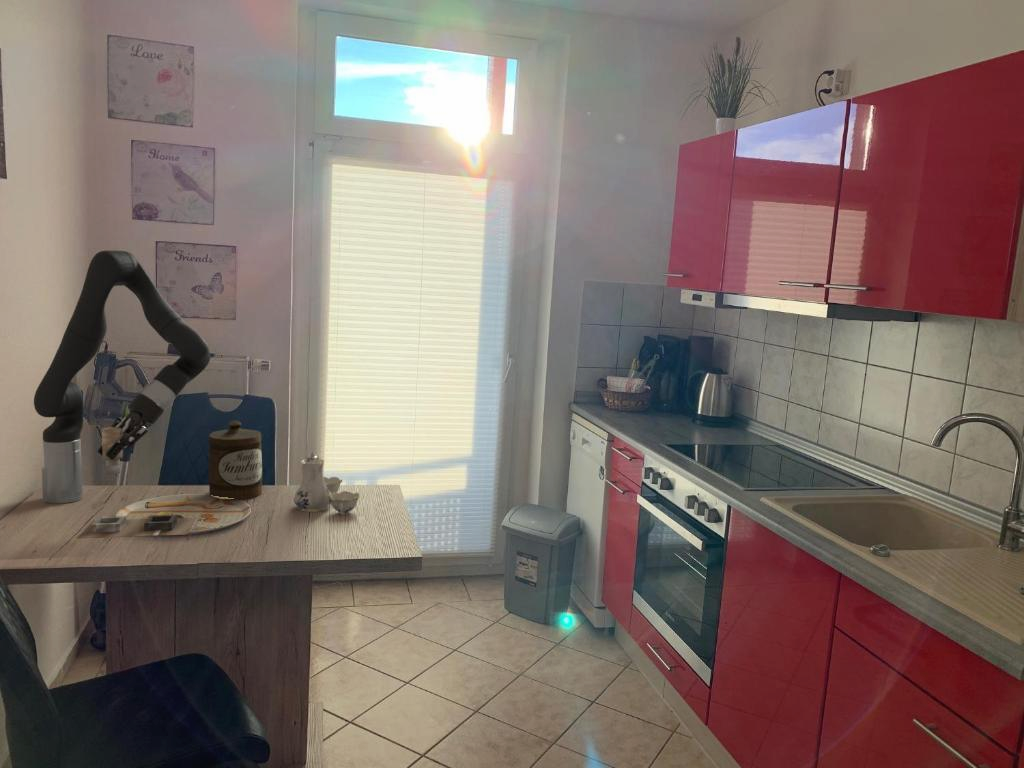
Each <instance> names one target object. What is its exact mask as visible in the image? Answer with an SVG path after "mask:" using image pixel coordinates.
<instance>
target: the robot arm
mask: <svg viewBox="0 0 1024 768" xmlns="http://www.w3.org/2000/svg"><path fill="white" fill-rule="evenodd" d="M117 286H118V287H120V286H124V287H126V288H127V289H128V290H129V291H130V292H131V293H133V294H134V295H135V296H136V297H137V299H138V301H139V302H140V304H141V307H142V311H143V314H144V317H145V318H146V321H147V322H148V324H149V325H150V327H152V329H153V330H154V331H156V333H157V334H158V335H159V336H160V337H161V338H162V339H163V341H165V342H166V343H168V344H170V345H172V346H173V348H174V349H176V351H177V352H178V353H179V355H180V356H179V358H178V359H177V360H175V362H173V364H167V365H165V366H164V367H163V368H161V370H160V371H159V372H158V373H157V375H155V376H154V378H153V379H152V380H151V381H149V382H148V383H147V384H146V385H145V386H144V387H143V388H142V389H141V390H140V392H139V393H138V394H137V395H136V396H135V397H134V398H133V399H132V400H131V401H130V403H129V404H128V405H127V409H128V410H129V413H127V415H125V416H124V417H123V418H122V417H120V416H118V417H116V419H115V420H114V421H113V423H112V425H111V426H110V427H109V428H111V427H118V428H122V431H121V432H120V437H119V438H118V440H117V443H114V445H113V446H112V447H111V448H110V449H109V450H108V451H107V452H106V454H105V455H106V456H107V457H108V458H110V459H112V460H113V459H114V458H115V457H116V456H117V455H118V454H119V453H120V452H121V450H124V449H126V448H127V447H128V448H131V447H133V446H134V445H135V444H136V443H137V442H138V441H139V440H140V439H141V438H142V437H143V436H144V435H146V434H147V433H148V432H149V429H147V427H145V426H146V425H147V424H148V425H150V426H151V425H152V426H153V425H154V424H155V423H156V422H157V421H158V419H159V418H160V417H161V416H162V415H163V414H164V413H165V411H166V410H167V409H168V408H169V407H170V406H171V404H172V403H173V402H174V400H175V399H176V398H177V397H178V395H179V394H180V393H181V392H182V390H184V388H185V387H186V385H187V384H188V383H190V382H191V381H193V380H194V379H195V378H196V377H197V376H199V375H200V374H201V373H202V372H203V371H204V370H205V369H206V368H207V367H208V365H209V363H210V360H211V353H210V349H209V345H208V343H207V342H206V341H205V339H204V337H202V336H201V335H200V334H199V333H198V332H197V331H196V330H195V329H193V328H192V327H191V326H190V325H188V324H187V323H186V322H185V320H184V319H183V318H182V317H181V316H180V314H179V313H178V312H176V311H175V310H174V308H173V307H172V306H171V304H169V303H168V302H167V300H166V299H165V298H164V297H163V295H162V294H161V292H160V291H159V289H158V288H157V286H156V285H155V284H154V282H153V281H152V279H151V278H150V276H149V275H148V273H147V271H146V270H145V269H144V267H143V266H142V264H141V263H140V261H139V259H137V257H136V256H135V255H134V254H132V253H131V252H129V251H127V250H126V251H125V250H101V251H99V252H96V253H95V255H93V257H92V259H91V260H90V263H89V265H88V268H87V271H86V275H85V278H84V282H83V286H82V289H81V293H80V295H79V298H78V300H77V303H76V305H75V308H74V310H73V313H72V316H71V318H70V320H69V322H68V324H67V326H66V328H65V331H64V333H63V336H62V338H61V341H60V343H59V346H58V349H57V350H56V353H55V354H54V357H53V359H52V361H51V364H50V365H49V368H48V369H47V371H46V372H45V374H44V376H43V378H42V379H41V381H40V383H39V384H38V387H37V388H36V390H35V393H34V397H33V406H34V410H35V412H36V413H37V414H38V415H39V416H41V417H44V418H54V420H53V422H52V423H51V424H50V425H49V426H47V427H46V428H45V429H44V430H43V431H42V445H43V446H42V449H43V450H42V451H43V468H41V487H42V503H50V504H67V503H73V502H77V501H80V500H82V499H83V497H84V496H83V495H84V494H83V493H84V491H83V470H82V469H83V468H82V465H83V463H82V446H81V445H82V443H81V442H82V441H81V433H82V431H83V427H84V395H83V393H82V390H81V388H80V386H79V385H78V384H77V383H75V382H74V381H72V380H73V378H75V376H76V375H77V374H78V373H79V372H80V371H81V370H82V369H83V368H84V367H85V366H86V365H88V364H89V362H90V361H92V359H93V358H94V357H95V356H96V355H97V353H98V352H99V350H100V348H101V347H102V346H101V345H102V343H103V342H104V338H106V337H105V336H106V334H107V329H108V328H107V327H108V326H107V325H108V324H107V317H106V312H105V309H106V308H105V307H106V306H105V305H106V303H107V300H108V297H109V296H110V293H111V291H112V290H113V288H114V287H117ZM97 453H98V454H99V455H100V456H102V457H103V451H102V444H101V445H100V447H98V449H97Z"/></svg>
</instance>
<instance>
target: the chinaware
mask: <svg viewBox="0 0 1024 768" xmlns="http://www.w3.org/2000/svg"><path fill="white" fill-rule="evenodd" d="M300 463H301V473H302V475H301V476H302V479H301V482H300V485H299V487H298V489H297V490H296V492H295V494H294V497H293V503H294V504H295V505H296V506H297V510H299V511H301V512H307V513H308V512H309V513H313V512H322V511H326V510H328V509H329V504H331V505H332V507H333V508H334V510H336V511H337V512H338V513H337V515H339V516H347V515H350V514H352V513H351V512H352V511H353V510H354V509H355V507H356V506H357V503H358V501H359V498H360V493H359V492H355V493H353V492H351V491H349V490H343V491H341V492H338V491H339V490H340V486H341V484H342V483H343V482H344V480H343V479H340V478H339V477H337V476H332V477H329V478H328V477H326V476H324V475H323V470H324V469H323V468H324V464H325V460H323V459H322V458H321V459H320V458H319V456H317V454H316V453H315V452H314V451H311V453H310V454H309V456H307V457H306V459H303V460H301V461H300Z"/></svg>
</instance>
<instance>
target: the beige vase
mask: <svg viewBox="0 0 1024 768" xmlns="http://www.w3.org/2000/svg"><path fill="white" fill-rule="evenodd" d="M110 427H111V426H110ZM110 427H105V428H102V429H101V442H102V443H101V445H102V451H103V456H102V459H104V460H105V466H106V467H105V468H106V475H119V474H120V473H121V460H120V459H121V458H123V457H124V456H123V455H124V454H123V450H124V449H122V450H121V452H120V453H119V454H118V455H117V456H116V457H115V458H114V459H113V460H112V459H110V458H108V457H107V456H106V455H105V454H106V452H107V451H108V450H109V449H110V448H111V447H112V446H113V445H114V443H117V440H118V438H119V437H120V432H121V431H122V428H118V427H111V428H110Z"/></svg>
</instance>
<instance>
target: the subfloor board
mask: <svg viewBox="0 0 1024 768" xmlns="http://www.w3.org/2000/svg"><path fill="white" fill-rule="evenodd" d="M197 519H198V517H195V516H194V517H193V516H192V517H178V514H174V513H173V511H160V512H159V513H158V514H157V515H156V514H155V515H152V514H151V515H149V516H148V517H147V518H134V519H133V518H132V519H129V518H128V519H127V516H126V515H125V516H124V515H123V516H119V515H118V516H98V517H97V518H96V519H94V520H92V521H91V523H89V525H88V526H87V527H85V528H84V529H83V530H82V532H81V533H80V534H79V535H78V536H77V537H76V539H96V538H97V539H98V538H99V539H101V538H123V537H124V538H125V537H127V538H128V537H155V536H183V535H184V536H185V535H189V536H188V537H187V538H186V541H189V539H190V538H191V536H192V534H191V531H192V529H193V527H194V525H195V524H196V523H195V522H197Z"/></svg>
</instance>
